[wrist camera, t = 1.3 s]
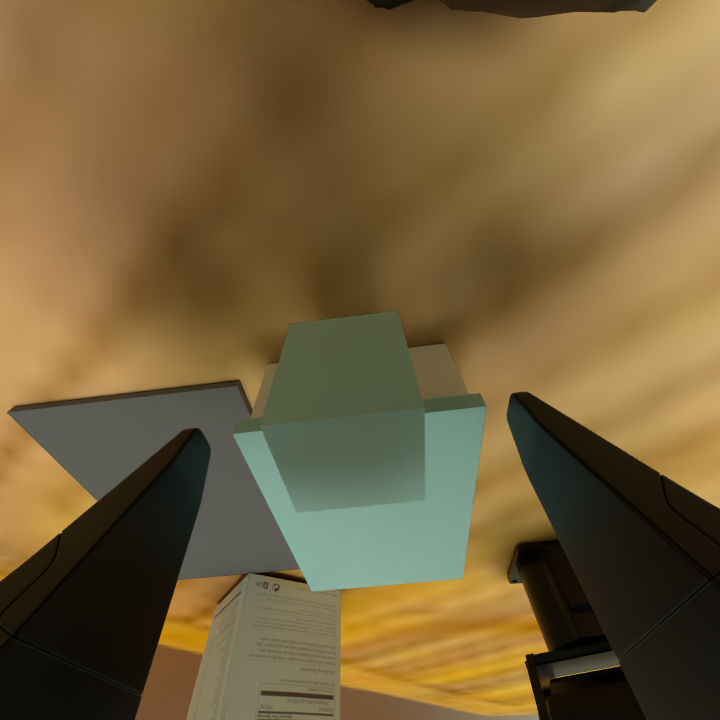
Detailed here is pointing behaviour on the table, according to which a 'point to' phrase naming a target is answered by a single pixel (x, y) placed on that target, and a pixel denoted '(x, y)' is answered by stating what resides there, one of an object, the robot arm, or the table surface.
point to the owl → (533, 6)
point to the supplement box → (271, 654)
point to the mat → (148, 435)
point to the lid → (364, 457)
